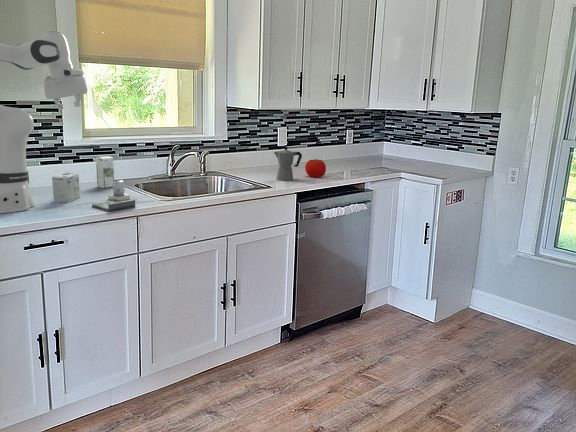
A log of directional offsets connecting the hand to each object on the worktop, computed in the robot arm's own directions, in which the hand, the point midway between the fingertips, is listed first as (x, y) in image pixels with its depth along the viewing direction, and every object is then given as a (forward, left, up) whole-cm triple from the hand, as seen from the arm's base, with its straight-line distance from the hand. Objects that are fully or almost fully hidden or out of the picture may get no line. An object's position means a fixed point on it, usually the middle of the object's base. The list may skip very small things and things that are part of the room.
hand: (69, 107), depth 221 cm
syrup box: (+23, +10, -39) cm, 46 cm away
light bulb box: (-4, -1, -39) cm, 39 cm away
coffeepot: (+105, -37, -39) cm, 118 cm away
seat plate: (+2, -25, -38) cm, 46 cm away
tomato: (+124, -43, -39) cm, 137 cm away
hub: (+12, -15, -38) cm, 43 cm away
